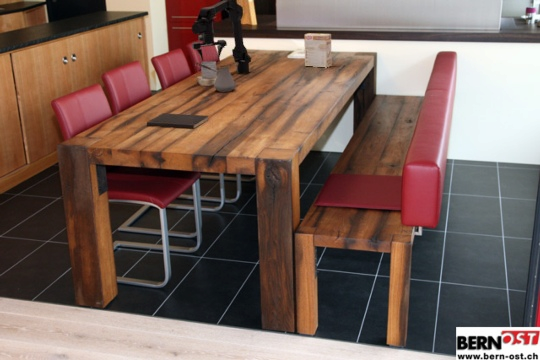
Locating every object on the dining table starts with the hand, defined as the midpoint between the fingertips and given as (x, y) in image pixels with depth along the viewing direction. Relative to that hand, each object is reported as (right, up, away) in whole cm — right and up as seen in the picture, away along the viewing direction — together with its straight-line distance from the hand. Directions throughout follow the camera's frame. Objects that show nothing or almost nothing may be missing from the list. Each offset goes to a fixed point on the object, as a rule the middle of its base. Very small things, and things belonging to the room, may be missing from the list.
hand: (210, 59), depth 390 cm
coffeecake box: (+63, +2, +35) cm, 72 cm away
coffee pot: (+5, -19, -16) cm, 26 cm away
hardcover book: (-8, -42, -76) cm, 87 cm away
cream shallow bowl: (0, -13, +2) cm, 13 cm away
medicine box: (-1, -10, +1) cm, 10 cm away
